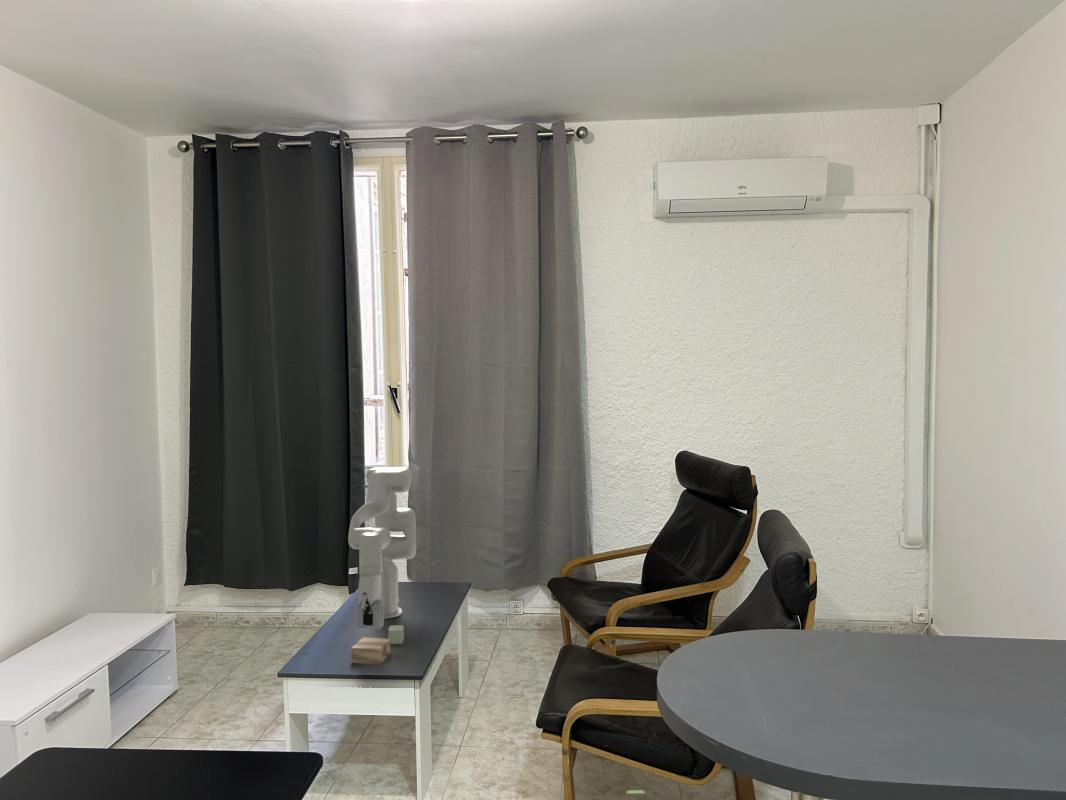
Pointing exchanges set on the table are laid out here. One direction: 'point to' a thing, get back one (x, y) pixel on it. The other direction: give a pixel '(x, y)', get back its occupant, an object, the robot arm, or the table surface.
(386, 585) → the robot arm
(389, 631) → the green cube
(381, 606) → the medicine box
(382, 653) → the oak block
